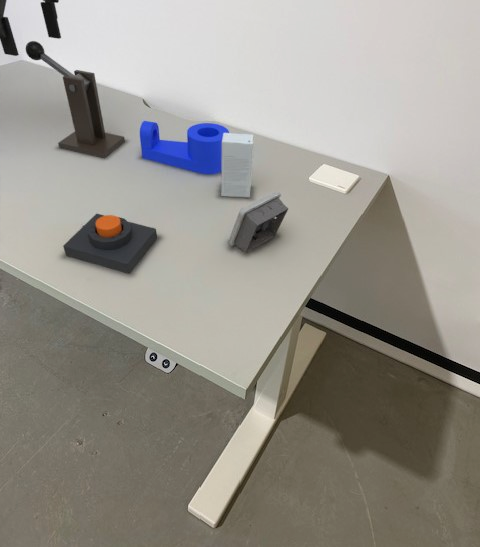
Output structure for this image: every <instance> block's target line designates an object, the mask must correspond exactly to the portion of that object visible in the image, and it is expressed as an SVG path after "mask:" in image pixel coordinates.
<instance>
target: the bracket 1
mask: <svg viewBox="0 0 480 547" xmlns="http://www.w3.org/2000/svg"><path fill="white" fill-rule="evenodd" d="M77 74H80V75H82V76H83V77H85V78H86V79H87V80H89V81H90V84H89V87H88V91H86V89H85V84H84V79H81V78H76V77H70V76H62V81H63V86H64V90H65V93H66V99H67V103H68V107H69V111H70V116H71V121H72V125H73V129H74V131H73V132H72V133H70V134H69V135H68V136H66V137H64V138H63V139H62V140H60V141H58V143H57V144H58V148H59V149H63V150H66V151H70V152H71V151H72V152H75V153H80V154H85V155H89V156H93V157H94V156H95V157H98V158H102V159H106V158H107V157H108V156H110V154H112V153H113V152H115V150H116V149H118V148H119V147H121V146H122V144H124V143H125V141H126V139H125V136H124V135H123V136H122V135H118V134H113V133H109V132H106V131H105V125H104V119H103V114H102V109H101V103H100V98H99V91H98V87H97V81H96V80H97V79H96V76H95V75H96V74H95V72H90V71H85V70H81V69H75V70H73V75H77Z"/></svg>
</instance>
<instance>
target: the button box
mask: <svg viewBox="0 0 480 547" xmlns="http://www.w3.org/2000/svg"><path fill="white" fill-rule="evenodd" d="M102 216H106V215H105V214H100V213H95V214H94V215H93V216H92V217H91V218H90V219H89V220H88V221H87V222H86V223H85V224H84V225H83V226H82V227H80V229H79V230H78V231H76V233H75V234H74V235H72V236H71V238H70V239H69V240H68V241H66V242H65V243H64V244H63V245H62V247H63V250H64V252H65V253H64V254H65V256H66V257H70V258H72V259H77V260H79V261H83V262H87V263H89V264H94V265H97V266H101V267H105V268H109V269H112V270H115V271H119V272H123V273H126V274H131V272H133V270H134V268H135V267H136V266H137V265H138V264H139V262H140V261H141V260H142V258H143V257H144V256H145V255H146V253H147V252H148V251H149V250H150V248H151V247H152V246H153V245H154V243H155V242H156V240H158V235H157V228H155V227H152V226H151V227H150V226H148V225H147V226H146V225H143V224H139V223H136V222H131V221H129V220H127V219H126V218H123V217H120V216H117V217H118V218H119V219H120V221H121V227H122V231H121V233H120V234H118V235H116V236H113V237H102V236H100V235H99V234H98V233H97V228H96V221H97V219H99V218H100V217H102Z"/></svg>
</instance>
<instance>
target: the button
mask: <svg viewBox="0 0 480 547" xmlns="http://www.w3.org/2000/svg"><path fill="white" fill-rule="evenodd" d="M118 217H119V216H116V215H114V214H108V215H107V214H106V215H105V216H102V217H100V218H99V219H97V221H96V228H97V233H98V234H99V235H100V236H102V237H113V236H116V235H118V234H120V233H121V231H122V227H121V221H120V219H119V218H118Z"/></svg>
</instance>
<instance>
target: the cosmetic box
mask: <svg viewBox="0 0 480 547" xmlns="http://www.w3.org/2000/svg"><path fill="white" fill-rule="evenodd" d="M253 154H254V134H253V133H235V132H229V133H223V138H222V172H220V173H221V179H220V180H221V181H220V182H221V183H220V185H221V186H220V192H221V193H220V195H221V197H230V198H231V197H232V198H248V199H250V197H251V184H252V171H253V157H254V156H253Z"/></svg>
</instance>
